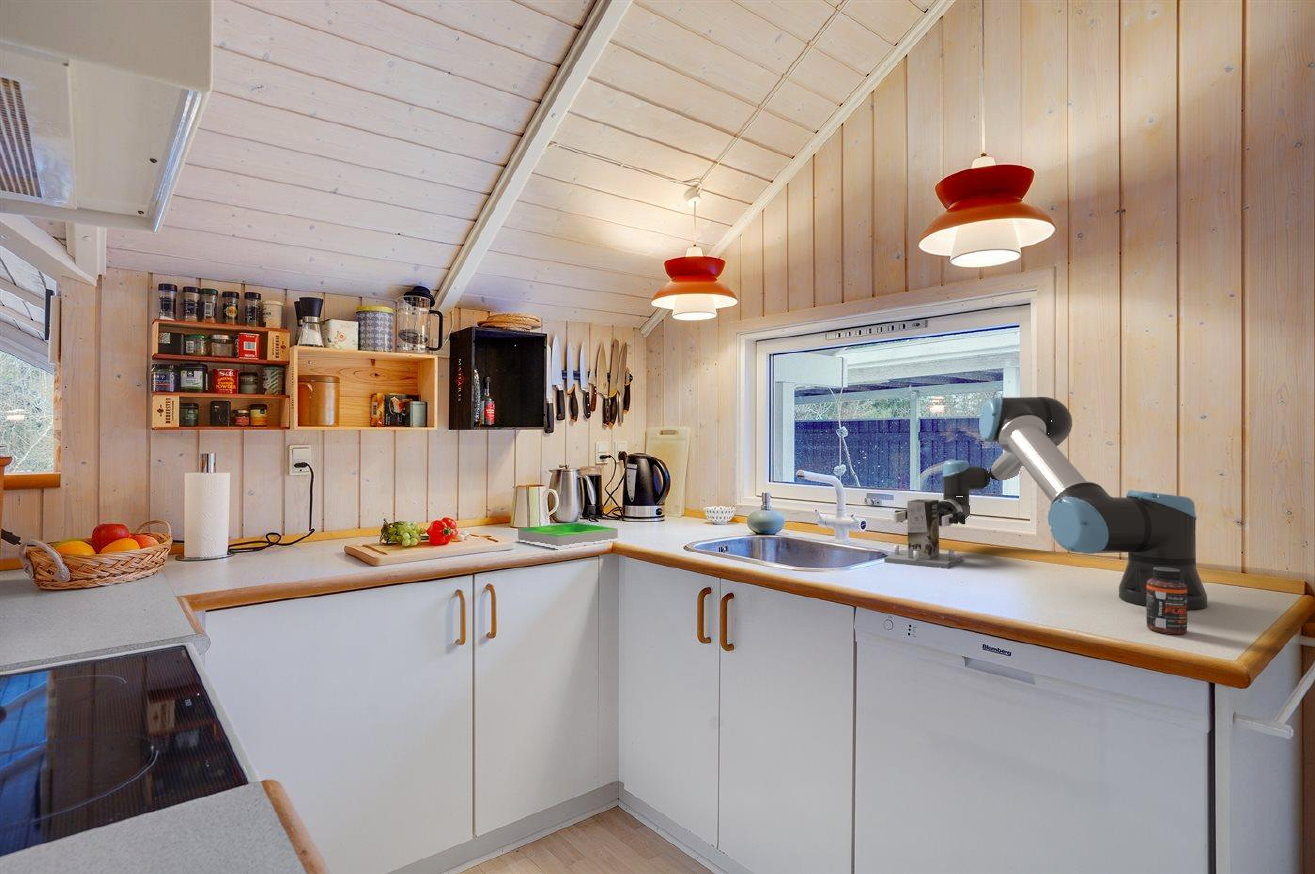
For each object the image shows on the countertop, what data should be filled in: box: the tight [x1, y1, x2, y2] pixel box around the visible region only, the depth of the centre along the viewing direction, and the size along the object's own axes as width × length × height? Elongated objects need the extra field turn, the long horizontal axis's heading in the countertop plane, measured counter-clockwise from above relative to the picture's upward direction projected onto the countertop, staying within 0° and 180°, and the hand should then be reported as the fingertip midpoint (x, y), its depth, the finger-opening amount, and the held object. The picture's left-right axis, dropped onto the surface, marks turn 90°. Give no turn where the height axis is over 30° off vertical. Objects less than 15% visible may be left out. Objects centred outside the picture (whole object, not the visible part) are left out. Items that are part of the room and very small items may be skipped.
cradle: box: [884, 544, 963, 569], centre depth 195 cm, size 16×17×4 cm
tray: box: [517, 522, 619, 546], centre depth 240 cm, size 25×25×5 cm
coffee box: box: [906, 498, 940, 560], centre depth 195 cm, size 9×6×16 cm
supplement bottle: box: [1146, 567, 1189, 636], centre depth 124 cm, size 6×6×11 cm
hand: (918, 519), depth 193 cm, fingers open, 13 cm apart
